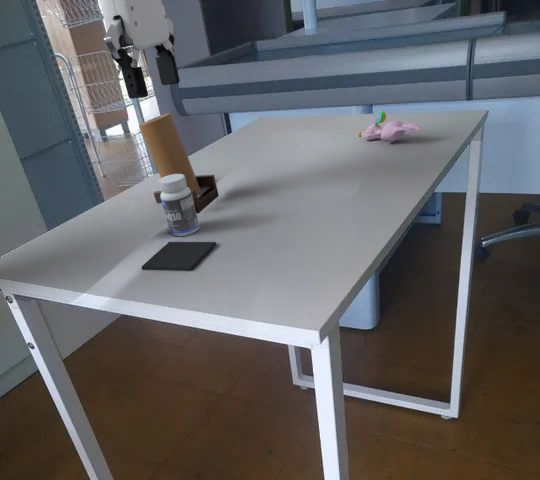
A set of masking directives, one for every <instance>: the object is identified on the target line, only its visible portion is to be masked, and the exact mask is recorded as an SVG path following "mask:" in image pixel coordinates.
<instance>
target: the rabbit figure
mask: <svg viewBox="0 0 540 480" xmlns="http://www.w3.org/2000/svg"><path fill="white" fill-rule="evenodd" d="M378 113H379V116H378V117H377V118H376V119H375V121H374V123H373V124H372V125H370V126H367V127H366V129H365V130H363V129H361V130H360V129H358V132H357V138H358V139H360V138H362V137H363V140H365V141H368V142H369V141H373V140H377V139H381V141H383V142H387V143H388V144H391V143H395V142H396V141H398V140H400V139H402V138H403V137H404V134H405V132H409V133H413V134H415V133H416V131H422V128H421V125H419V124H418V122H417V123H416V122H408V123H405V122H403V121H400V120H397V119H396V120H393V119H392V120H390V121H388V122H387V123H386V124H385V125H384V126H383V128H382V127H381V125H380V124H383V123H384V122H385V121H386V119H387V114H386V112H385V111H383V110H379V111H378Z"/></svg>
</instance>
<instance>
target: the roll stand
mask: <svg viewBox="0 0 540 480" xmlns="http://www.w3.org/2000/svg"><path fill="white" fill-rule="evenodd" d="M195 176H196V179H197V182H198V184H199V187H200V188H207V189H206V190H205V191H204V192H202V194H203V196H202V198H200V199H199V200H198V199H197V198H198V195H196V191H195V190H191V193H192V198H193V202H194V206H195V210H196V214H200V213H201V212H202V211H203V210H204V209H205V208H207V207H208V206H209V205H210V204H211V203H212V202H213V201H214V200H215V199H217V198H218V197H219V190H218V187H217V181H216V178H215V174H200V175H199V174H198V175H197V174H196V175H195ZM162 192H163V191H161V190H156V191H154V192H153V196H154V200H155V202H156V204H162V201H161V197H160V195H161V193H162Z"/></svg>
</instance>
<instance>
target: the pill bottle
mask: <svg viewBox="0 0 540 480" xmlns="http://www.w3.org/2000/svg"><path fill="white" fill-rule="evenodd" d="M158 185H159V189H160V191H163V192H162V193H161V195H160V197H161V201H162V203H161V204H162V207H163V211H164V215H165V219H166V222H167V226H168V230H169V232H170V234H171V235H172V236H174V237H186V236H190V235H192V234H194V233H196V232H197V231H199V229H200V223H199V219H198V213H196V210H195V206H194V202H193V198H192V193H191V190H190V188H188V187H187V186H186V185H187V184H186V179H185V176H184V175H183V174H172V175H168V176H165V177H162V178H161V177H160V178H159V179H158Z"/></svg>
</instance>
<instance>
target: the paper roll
mask: <svg viewBox="0 0 540 480" xmlns="http://www.w3.org/2000/svg"><path fill="white" fill-rule="evenodd" d="M138 128H139V130H140V132H141V136H142V137H143V139H144V142H145V144H146V147H147V149H148V151H149V153H150V156H151V158H152V161H153V163H154V165H155V168H156V170H157V173H158V175H159V177H160V179H161V178H162V177H165V176H168V175H172V174H183V175H184V176H185V179H186V184H187V185H186V186H187V187H188V188H190V190H195V191H196V195H197V199H198V200H199V199H200V198H202V196H203V193H201V192H202V189H201V187H199V184H198V182H197V179H196V176H197V175H196V173H195V171H194V168H193V166H192V164H191V161H190V158H189V156H188V153H187V151H186V149H185V146H184V143H183V141H182V138H181V136H180V133H179V131H178V127H177V126H176V123H175V121H174V118H173V116H172V113H171V112H167V113H164V114H161V115H158V116H156V117H153V118H150V119H148V120H146V121H144V122H142V123H140V124H138ZM199 194H200V195H199ZM198 195H199V196H198Z"/></svg>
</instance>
